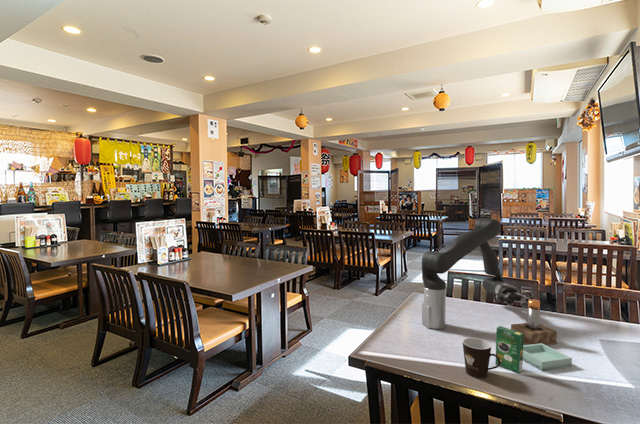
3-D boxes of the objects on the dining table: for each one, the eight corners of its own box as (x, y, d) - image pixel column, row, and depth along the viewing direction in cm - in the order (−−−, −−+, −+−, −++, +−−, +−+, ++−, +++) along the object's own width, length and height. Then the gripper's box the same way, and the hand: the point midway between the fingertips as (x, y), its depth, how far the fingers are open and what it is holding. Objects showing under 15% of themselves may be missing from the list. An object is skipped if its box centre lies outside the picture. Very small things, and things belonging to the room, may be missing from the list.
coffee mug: (457, 367, 115) (457, 338, 114) (481, 366, 116) (481, 337, 115) (475, 386, 103) (476, 354, 103) (502, 384, 104) (503, 352, 104)
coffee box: (524, 371, 112) (524, 332, 111) (519, 374, 110) (520, 334, 109) (499, 362, 118) (499, 325, 118) (495, 364, 117) (495, 327, 116)
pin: (533, 342, 134) (533, 302, 133) (524, 338, 138) (525, 299, 137) (541, 341, 134) (542, 301, 134) (533, 337, 138) (534, 298, 138)
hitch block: (530, 346, 130) (530, 334, 130) (510, 336, 140) (511, 324, 139) (556, 343, 132) (556, 331, 132) (535, 333, 142) (535, 321, 142)
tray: (541, 370, 112) (541, 362, 112) (513, 354, 124) (514, 346, 124) (571, 366, 114) (571, 358, 114) (541, 351, 126) (541, 343, 126)
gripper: (490, 284, 163) (503, 294, 147) (522, 285, 161) (539, 295, 145) (490, 299, 163) (503, 311, 147) (522, 300, 161) (539, 312, 145)
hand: (521, 303), depth 146 cm, fingers open, 8 cm apart
